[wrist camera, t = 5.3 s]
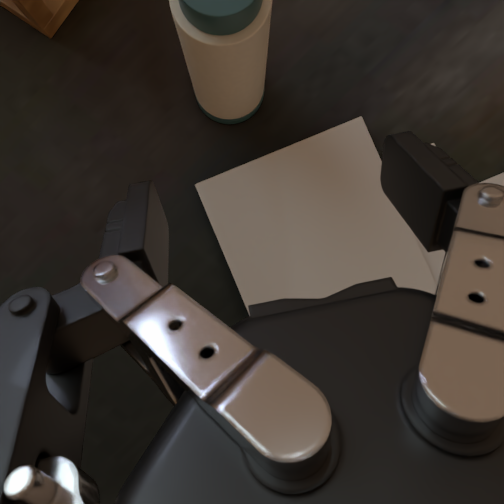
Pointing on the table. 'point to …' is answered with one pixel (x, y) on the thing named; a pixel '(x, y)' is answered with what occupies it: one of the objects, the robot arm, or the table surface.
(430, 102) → the table surface
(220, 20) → the bottle with teal cap
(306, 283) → the paper stack
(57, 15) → the frame
